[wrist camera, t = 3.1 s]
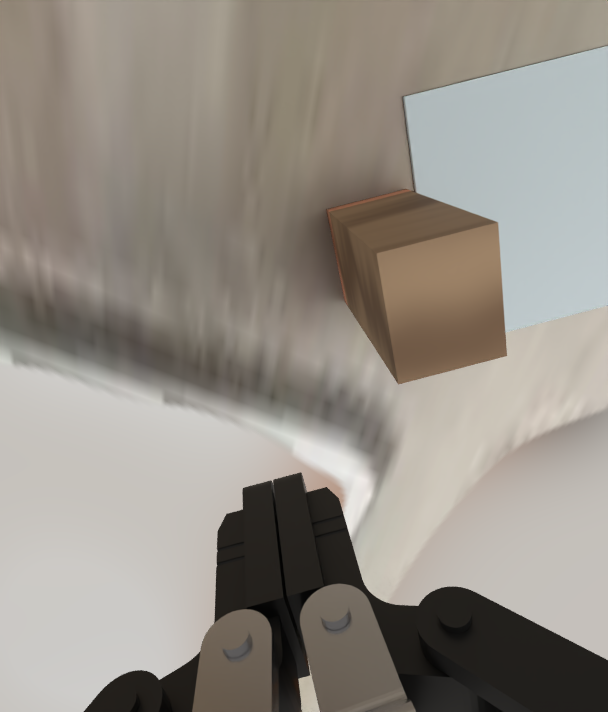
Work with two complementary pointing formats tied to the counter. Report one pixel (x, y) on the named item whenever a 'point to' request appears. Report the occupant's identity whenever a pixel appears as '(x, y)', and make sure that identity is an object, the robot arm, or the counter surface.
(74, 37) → the counter surface
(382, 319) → the walnut block
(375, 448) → the counter surface
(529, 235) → the mat
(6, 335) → the counter surface
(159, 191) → the counter surface
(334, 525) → the robot arm
